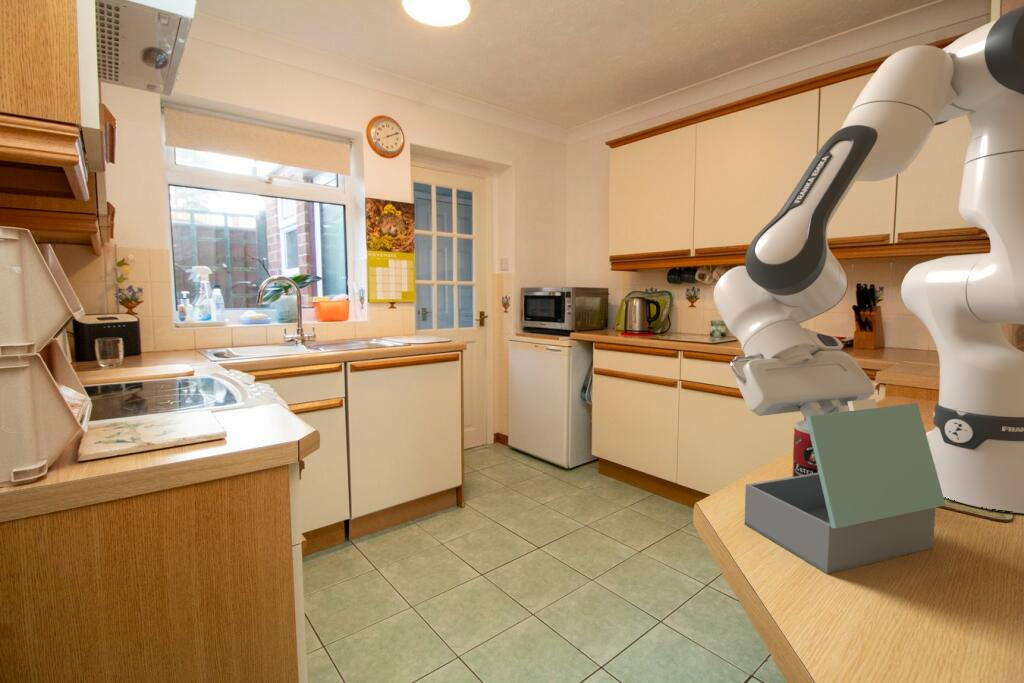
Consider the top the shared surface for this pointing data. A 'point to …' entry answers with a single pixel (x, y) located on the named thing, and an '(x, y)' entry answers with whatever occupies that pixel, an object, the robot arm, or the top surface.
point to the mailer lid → (874, 462)
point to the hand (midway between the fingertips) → (839, 433)
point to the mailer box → (807, 530)
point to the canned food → (803, 451)
